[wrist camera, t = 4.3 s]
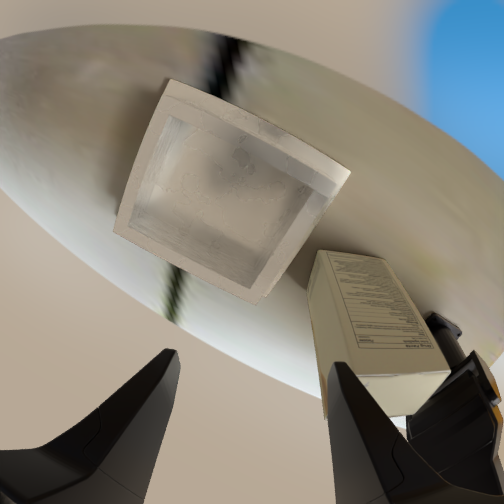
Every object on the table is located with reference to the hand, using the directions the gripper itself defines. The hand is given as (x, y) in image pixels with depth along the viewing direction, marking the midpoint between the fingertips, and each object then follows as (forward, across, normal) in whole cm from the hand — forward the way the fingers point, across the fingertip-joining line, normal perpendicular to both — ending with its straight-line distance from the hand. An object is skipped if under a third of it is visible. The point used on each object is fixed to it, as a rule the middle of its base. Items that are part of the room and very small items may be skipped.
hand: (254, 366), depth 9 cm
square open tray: (+13, +3, -2) cm, 14 cm away
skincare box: (+13, -7, +4) cm, 16 cm away
